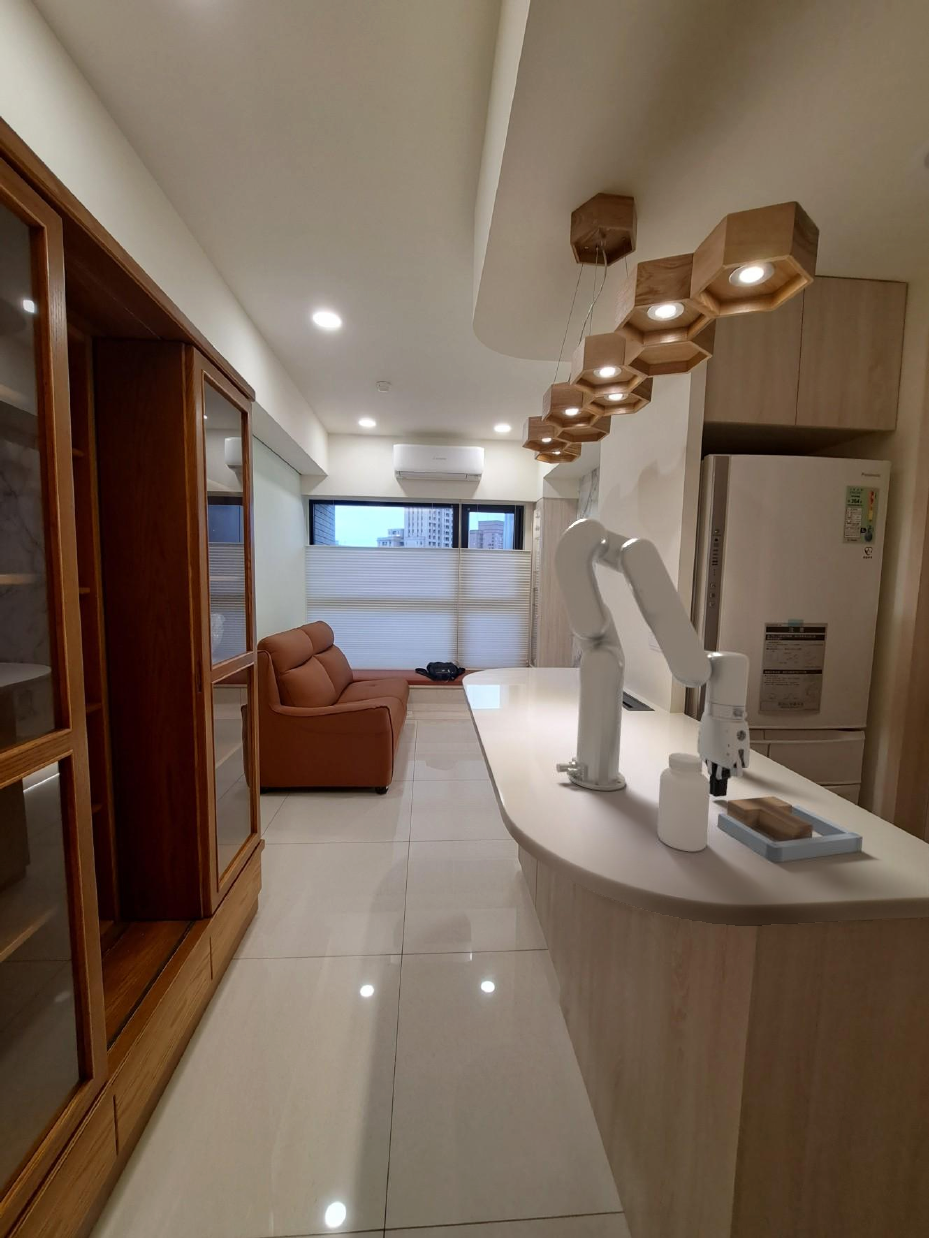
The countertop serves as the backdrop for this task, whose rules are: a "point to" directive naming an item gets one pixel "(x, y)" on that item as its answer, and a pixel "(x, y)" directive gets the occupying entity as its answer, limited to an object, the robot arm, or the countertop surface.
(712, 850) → the countertop surface
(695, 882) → the countertop surface
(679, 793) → the pill bottle
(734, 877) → the countertop surface
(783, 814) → the t block
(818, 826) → the frame
